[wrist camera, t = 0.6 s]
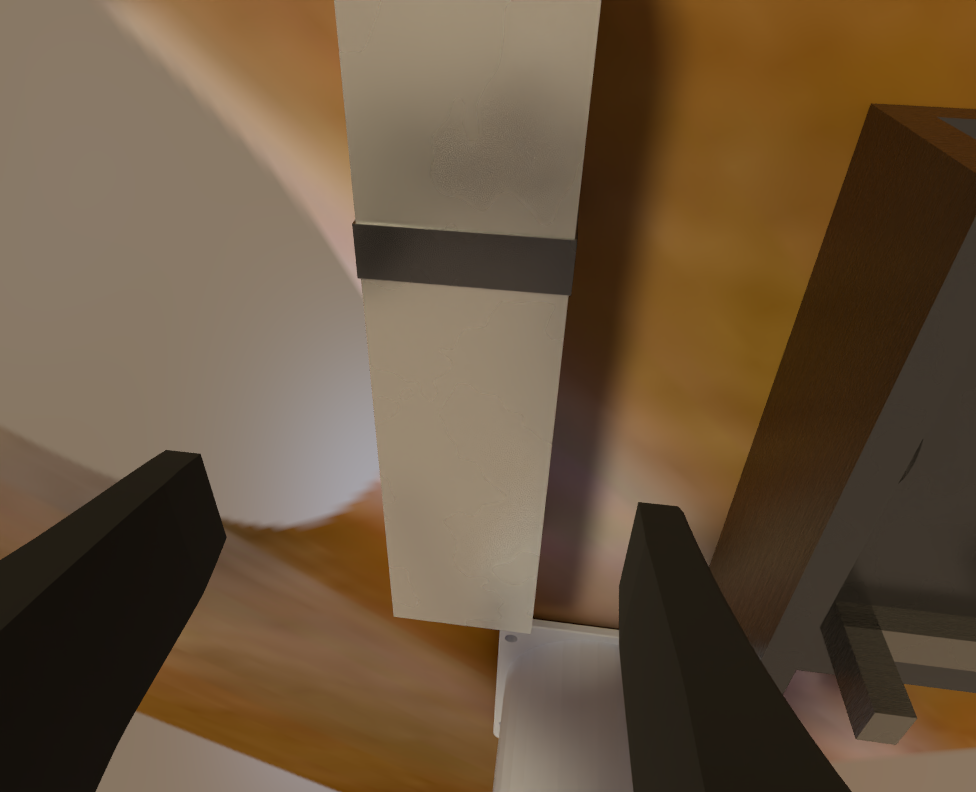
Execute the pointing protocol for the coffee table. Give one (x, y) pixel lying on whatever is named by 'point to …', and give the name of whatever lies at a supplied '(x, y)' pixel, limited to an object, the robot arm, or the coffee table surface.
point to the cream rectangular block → (465, 279)
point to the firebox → (872, 439)
